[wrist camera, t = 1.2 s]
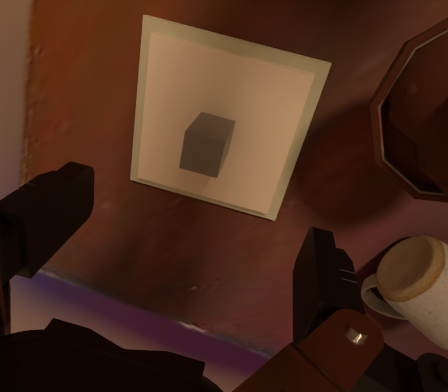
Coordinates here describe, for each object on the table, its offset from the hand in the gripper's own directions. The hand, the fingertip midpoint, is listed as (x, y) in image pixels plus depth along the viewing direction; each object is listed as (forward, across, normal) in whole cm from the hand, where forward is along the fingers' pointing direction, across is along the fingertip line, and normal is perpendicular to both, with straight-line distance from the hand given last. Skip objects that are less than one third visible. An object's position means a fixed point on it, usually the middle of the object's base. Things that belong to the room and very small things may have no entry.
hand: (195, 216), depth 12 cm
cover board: (+19, +2, +3) cm, 19 cm away
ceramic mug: (+20, -20, +13) cm, 31 cm away
